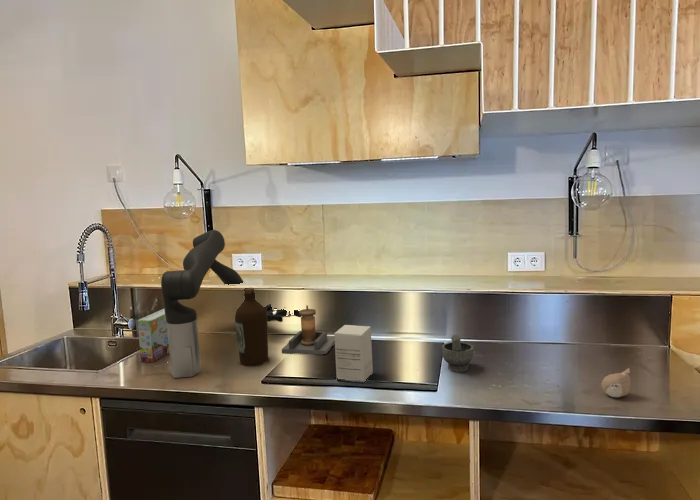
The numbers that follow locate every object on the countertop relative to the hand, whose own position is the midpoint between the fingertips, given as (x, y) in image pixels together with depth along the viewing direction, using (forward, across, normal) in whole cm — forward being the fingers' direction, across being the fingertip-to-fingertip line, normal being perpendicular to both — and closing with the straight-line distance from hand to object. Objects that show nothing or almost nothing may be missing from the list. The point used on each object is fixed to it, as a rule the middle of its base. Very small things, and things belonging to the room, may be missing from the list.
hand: (291, 316), depth 191 cm
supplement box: (+44, -7, +10) cm, 45 cm away
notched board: (+11, 0, +10) cm, 14 cm away
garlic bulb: (+103, +32, +10) cm, 109 cm away
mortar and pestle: (+62, +19, +10) cm, 65 cm away
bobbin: (+10, 0, +8) cm, 13 cm away
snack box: (-25, -39, +10) cm, 48 cm away
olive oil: (+8, -21, +10) cm, 25 cm away
